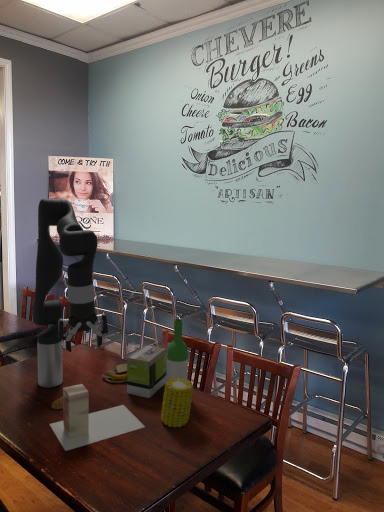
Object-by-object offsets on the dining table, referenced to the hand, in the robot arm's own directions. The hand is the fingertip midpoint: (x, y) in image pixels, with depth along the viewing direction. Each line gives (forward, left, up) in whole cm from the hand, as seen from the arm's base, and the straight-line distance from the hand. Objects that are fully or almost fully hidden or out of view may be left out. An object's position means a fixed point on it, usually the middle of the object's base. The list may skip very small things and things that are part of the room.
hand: (84, 348), depth 131 cm
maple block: (-3, -2, -28) cm, 28 cm away
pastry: (-22, +1, -29) cm, 36 cm away
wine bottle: (-8, +38, -29) cm, 49 cm away
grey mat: (-3, +5, -29) cm, 29 cm away
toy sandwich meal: (-35, +27, -29) cm, 53 cm away
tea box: (-20, +32, -29) cm, 48 cm away
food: (+7, +29, -29) cm, 42 cm away
